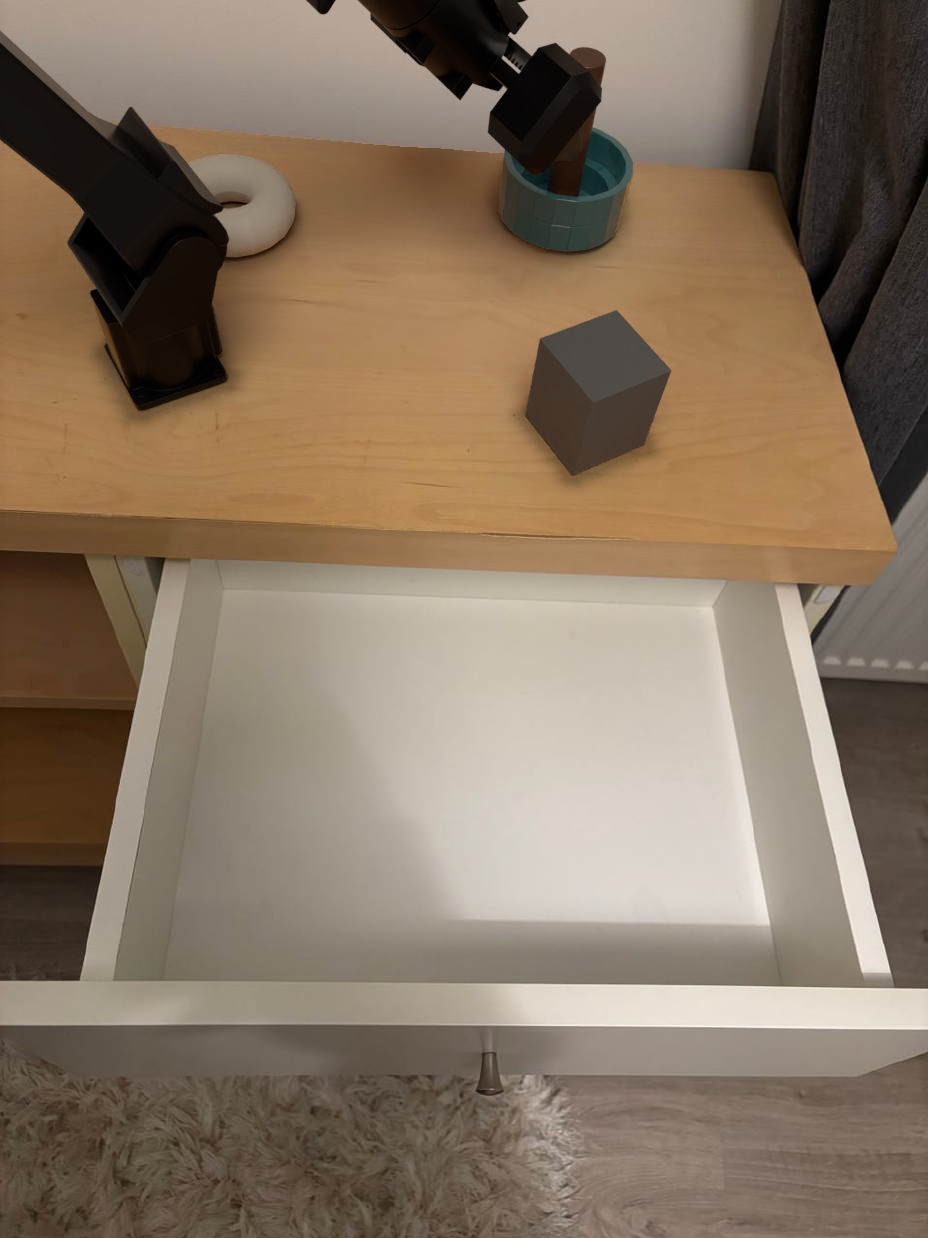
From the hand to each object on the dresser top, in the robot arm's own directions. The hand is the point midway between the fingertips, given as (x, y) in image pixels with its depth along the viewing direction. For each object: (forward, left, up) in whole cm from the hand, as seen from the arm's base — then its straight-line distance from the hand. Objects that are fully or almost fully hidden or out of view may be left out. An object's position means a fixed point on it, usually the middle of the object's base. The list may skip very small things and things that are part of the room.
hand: (538, 117), depth 65 cm
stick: (+4, 0, -9) cm, 9 cm away
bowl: (+4, 0, -9) cm, 10 cm away
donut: (-20, +10, -9) cm, 25 cm away
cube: (-7, -20, -9) cm, 23 cm away
